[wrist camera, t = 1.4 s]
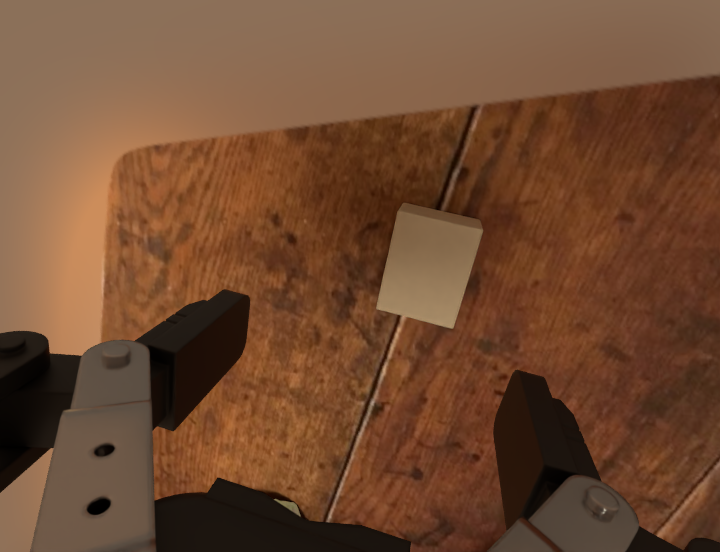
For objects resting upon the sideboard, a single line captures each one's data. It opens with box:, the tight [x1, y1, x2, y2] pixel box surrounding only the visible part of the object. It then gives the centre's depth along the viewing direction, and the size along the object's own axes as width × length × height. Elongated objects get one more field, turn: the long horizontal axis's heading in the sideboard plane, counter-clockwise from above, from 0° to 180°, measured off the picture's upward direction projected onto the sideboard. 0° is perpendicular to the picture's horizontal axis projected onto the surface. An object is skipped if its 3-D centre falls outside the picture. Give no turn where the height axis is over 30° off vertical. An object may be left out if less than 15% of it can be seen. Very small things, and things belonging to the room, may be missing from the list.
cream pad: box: [376, 203, 483, 328], centre depth 24 cm, size 6×5×3 cm
